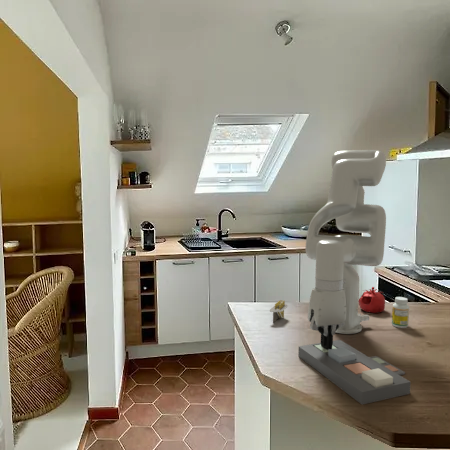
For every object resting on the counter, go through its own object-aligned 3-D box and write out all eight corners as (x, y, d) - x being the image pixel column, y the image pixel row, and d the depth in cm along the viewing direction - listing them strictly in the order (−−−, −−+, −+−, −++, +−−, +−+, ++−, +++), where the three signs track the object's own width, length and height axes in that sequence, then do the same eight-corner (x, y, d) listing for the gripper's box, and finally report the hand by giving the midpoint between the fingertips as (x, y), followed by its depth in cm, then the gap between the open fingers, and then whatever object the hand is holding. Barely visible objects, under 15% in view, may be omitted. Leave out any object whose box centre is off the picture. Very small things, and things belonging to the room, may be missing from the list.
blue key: (343, 356, 122) (343, 347, 122) (354, 363, 118) (355, 354, 117) (328, 359, 121) (328, 349, 120) (339, 366, 116) (339, 356, 116)
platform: (302, 315, 163) (303, 298, 163) (287, 331, 147) (287, 312, 147) (272, 311, 169) (272, 294, 168) (253, 325, 153) (254, 307, 152)
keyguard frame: (339, 349, 132) (339, 339, 131) (409, 393, 106) (410, 381, 105) (298, 356, 127) (298, 346, 126) (361, 404, 101) (362, 392, 100)
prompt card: (376, 357, 126) (376, 355, 126) (405, 374, 116) (405, 371, 116) (362, 360, 124) (362, 357, 124) (389, 377, 114) (389, 374, 114)
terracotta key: (359, 372, 116) (359, 362, 116) (372, 380, 112) (372, 370, 111) (343, 375, 114) (344, 365, 114) (355, 384, 110) (356, 373, 109)
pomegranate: (379, 306, 174) (380, 283, 173) (389, 314, 164) (391, 290, 163) (354, 306, 174) (355, 283, 172) (363, 314, 164) (364, 290, 163)
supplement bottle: (405, 329, 149) (406, 301, 148) (389, 325, 152) (390, 298, 151) (410, 325, 153) (412, 298, 152) (394, 321, 156) (396, 295, 155)
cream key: (377, 378, 110) (378, 368, 109) (392, 387, 105) (393, 377, 105) (361, 382, 108) (361, 371, 107) (375, 391, 103) (375, 380, 103)
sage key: (328, 351, 129) (328, 343, 129) (338, 358, 124) (339, 349, 124) (313, 354, 127) (314, 345, 127) (323, 361, 123) (324, 352, 122)
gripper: (343, 279, 129) (340, 339, 132) (298, 283, 124) (296, 346, 126) (359, 285, 122) (356, 349, 125) (313, 290, 117) (310, 356, 119)
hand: (326, 347), depth 125 cm, fingers closed
